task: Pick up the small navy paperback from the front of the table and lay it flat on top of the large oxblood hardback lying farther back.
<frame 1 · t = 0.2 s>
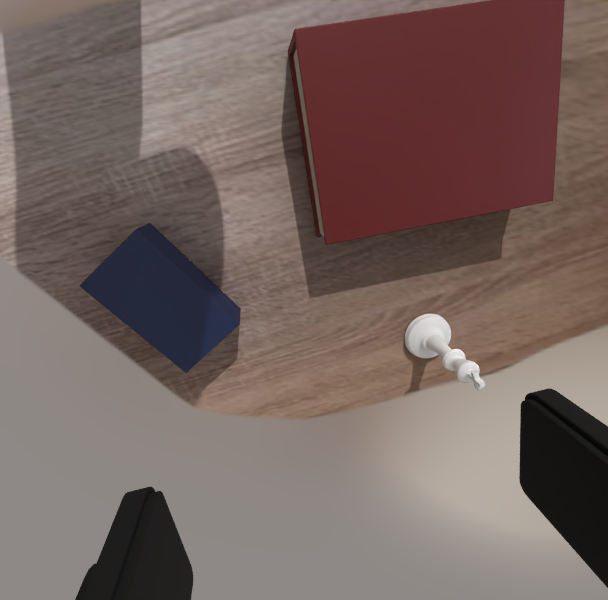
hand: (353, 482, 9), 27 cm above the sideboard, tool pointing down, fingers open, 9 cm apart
chess piece: (425, 334, 40), on the sideboard
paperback: (172, 291, 34), on the sideboard
hardback: (414, 131, 33), on the sideboard
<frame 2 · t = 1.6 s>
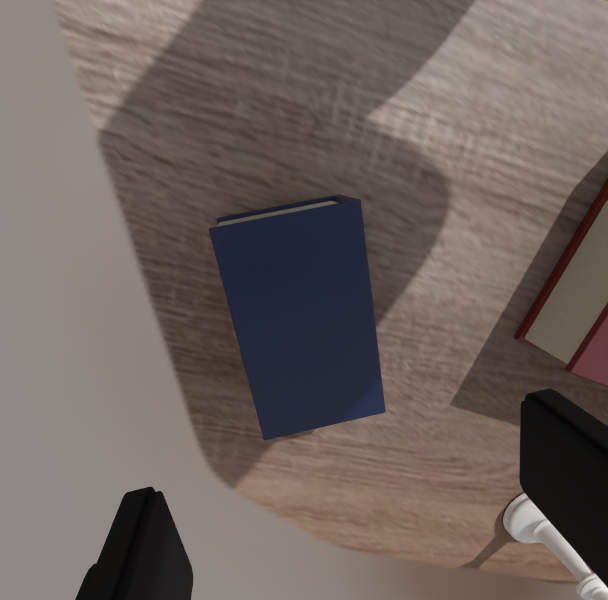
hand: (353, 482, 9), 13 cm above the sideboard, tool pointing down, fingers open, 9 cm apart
chess piece: (530, 510, 29), on the sideboard
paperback: (297, 303, 21), on the sideboard
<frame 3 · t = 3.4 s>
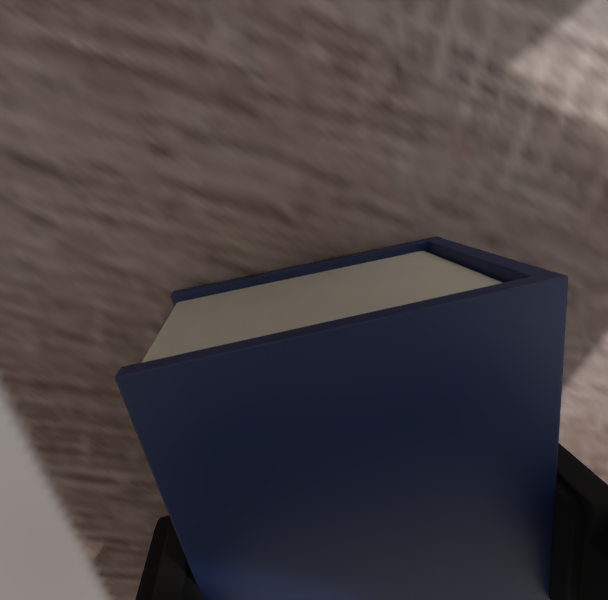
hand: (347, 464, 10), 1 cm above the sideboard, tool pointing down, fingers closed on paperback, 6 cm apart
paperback: (341, 446, 11), on the sideboard, touching gripper
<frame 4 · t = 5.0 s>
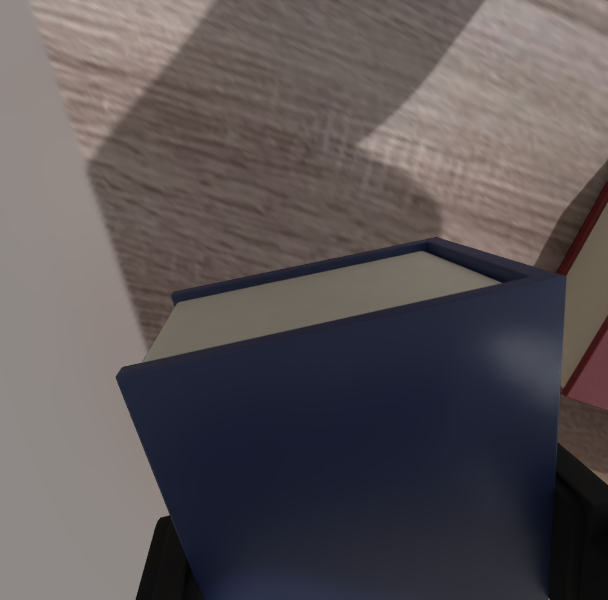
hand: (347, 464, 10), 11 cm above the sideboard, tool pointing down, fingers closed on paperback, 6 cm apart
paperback: (341, 446, 11), point 11 cm above the sideboard, touching gripper
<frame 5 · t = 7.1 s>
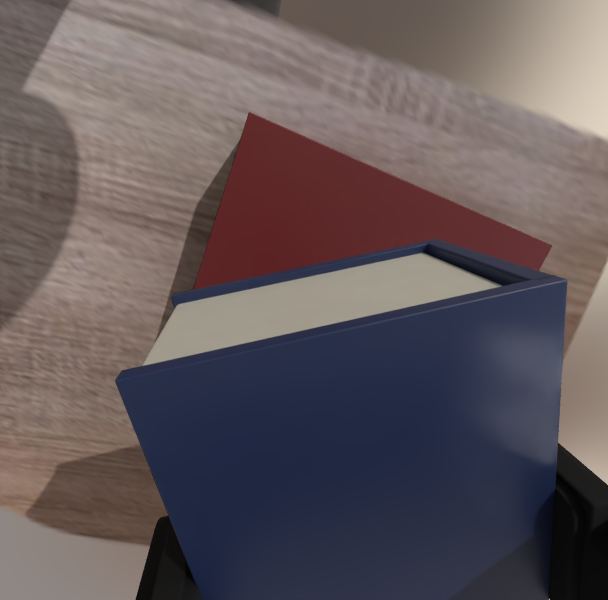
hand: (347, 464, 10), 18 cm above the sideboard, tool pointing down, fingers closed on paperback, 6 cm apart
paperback: (341, 448, 11), point 17 cm above the sideboard, touching gripper
hardback: (347, 285, 27), on the sideboard
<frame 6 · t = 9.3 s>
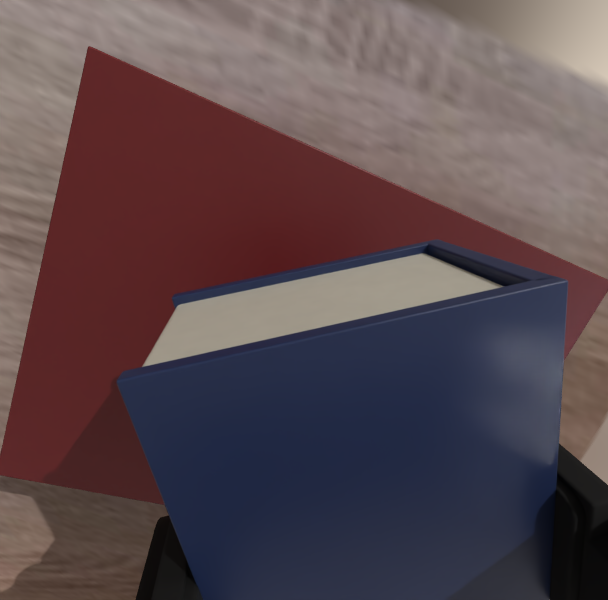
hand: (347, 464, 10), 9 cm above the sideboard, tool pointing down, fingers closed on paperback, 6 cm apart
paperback: (341, 448, 11), point 8 cm above the sideboard, touching gripper
hardback: (301, 329, 19), on the sideboard
when the fingers open (5 cm above the sideboard, at t = 10.8 s): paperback stays where it is, resting on hardback.
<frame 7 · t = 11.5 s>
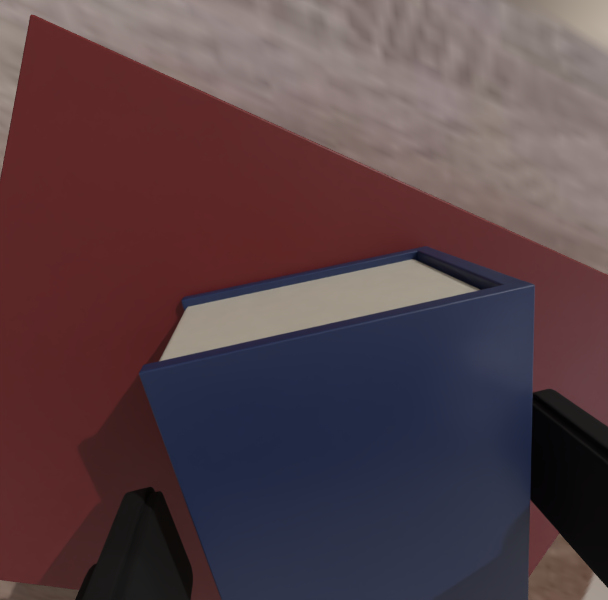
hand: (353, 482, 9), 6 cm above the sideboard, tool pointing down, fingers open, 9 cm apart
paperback: (338, 442, 11), point 5 cm above the sideboard, touching hardback
hardback: (314, 369, 16), on the sideboard, touching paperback
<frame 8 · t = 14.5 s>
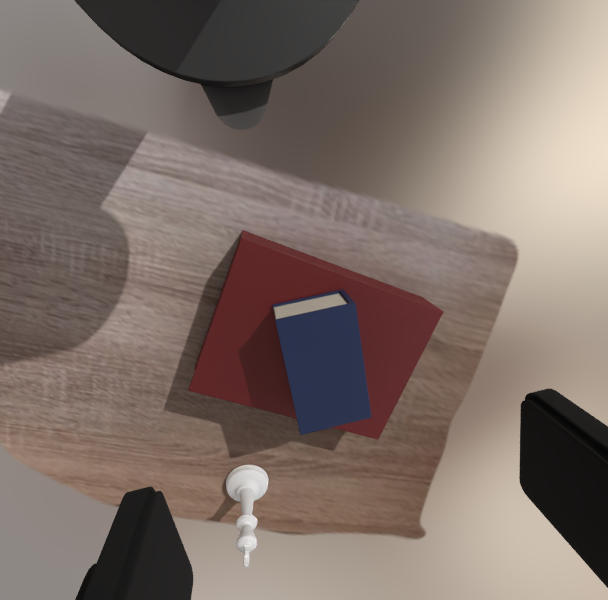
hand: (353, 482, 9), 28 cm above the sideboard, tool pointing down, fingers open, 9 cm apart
chess piece: (247, 480, 44), on the sideboard
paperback: (318, 351, 35), point 5 cm above the sideboard, touching hardback
hardback: (310, 331, 39), on the sideboard, touching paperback
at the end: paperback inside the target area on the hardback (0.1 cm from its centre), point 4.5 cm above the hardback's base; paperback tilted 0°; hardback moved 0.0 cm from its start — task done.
